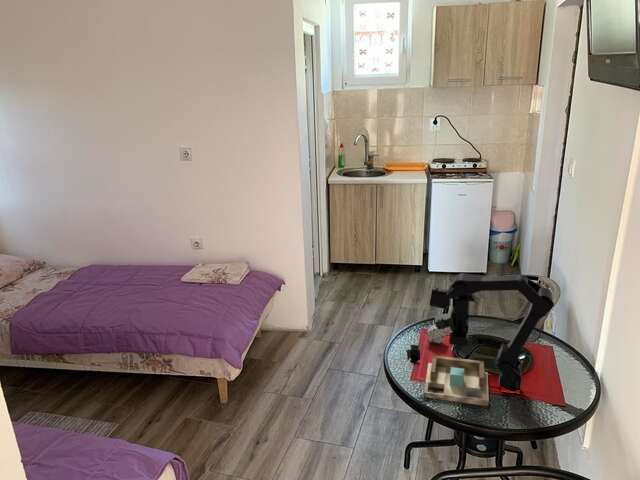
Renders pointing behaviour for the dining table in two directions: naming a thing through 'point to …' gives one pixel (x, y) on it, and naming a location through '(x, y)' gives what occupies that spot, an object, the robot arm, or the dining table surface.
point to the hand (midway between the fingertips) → (458, 349)
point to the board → (454, 393)
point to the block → (456, 377)
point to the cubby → (458, 366)
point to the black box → (413, 354)
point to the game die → (435, 334)
